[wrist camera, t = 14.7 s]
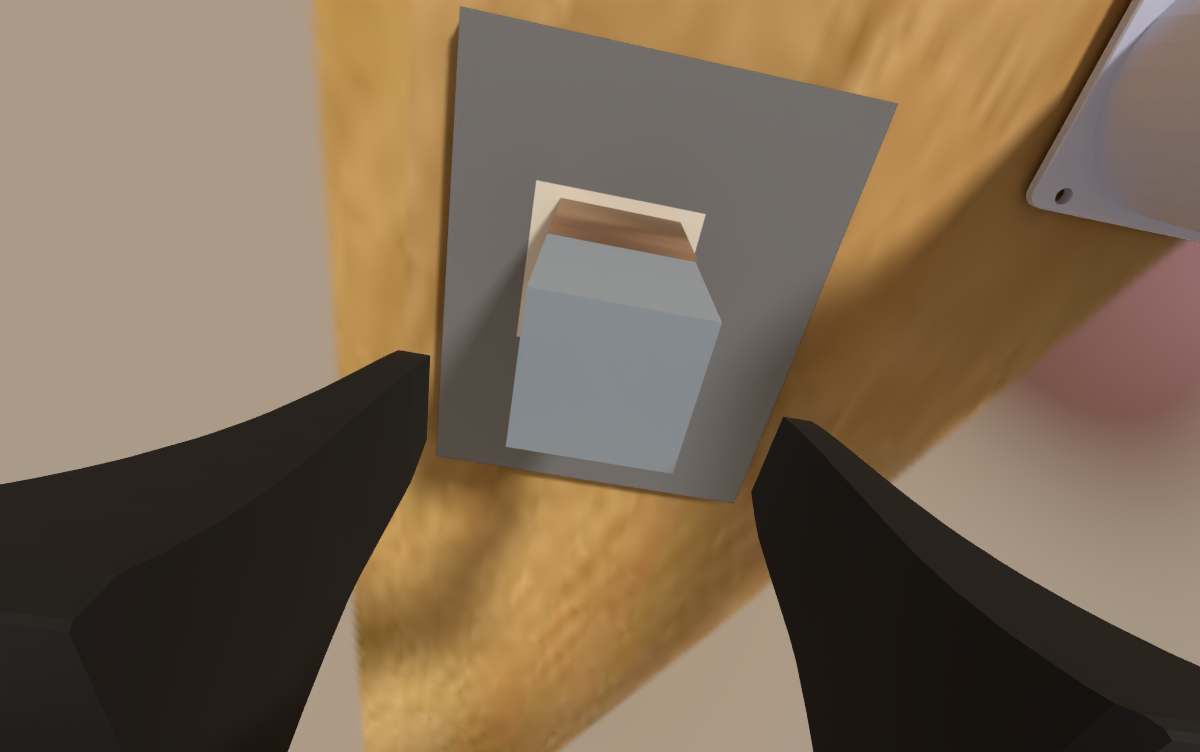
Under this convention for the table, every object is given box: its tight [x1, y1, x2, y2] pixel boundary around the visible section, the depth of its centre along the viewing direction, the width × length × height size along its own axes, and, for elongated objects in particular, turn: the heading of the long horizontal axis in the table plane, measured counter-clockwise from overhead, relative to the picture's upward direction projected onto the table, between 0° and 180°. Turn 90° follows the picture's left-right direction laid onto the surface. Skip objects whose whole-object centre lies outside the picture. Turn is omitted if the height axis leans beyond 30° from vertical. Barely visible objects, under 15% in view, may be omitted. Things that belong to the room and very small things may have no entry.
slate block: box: [506, 233, 722, 474], centre depth 14 cm, size 4×4×4 cm
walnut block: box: [548, 198, 697, 262], centre depth 17 cm, size 4×4×4 cm
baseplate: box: [436, 6, 898, 503], centre depth 20 cm, size 13×16×1 cm
